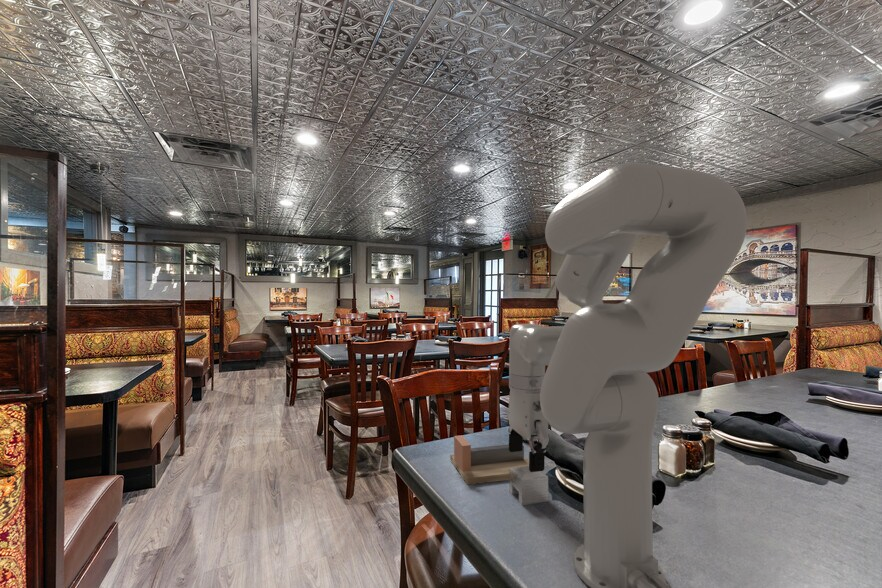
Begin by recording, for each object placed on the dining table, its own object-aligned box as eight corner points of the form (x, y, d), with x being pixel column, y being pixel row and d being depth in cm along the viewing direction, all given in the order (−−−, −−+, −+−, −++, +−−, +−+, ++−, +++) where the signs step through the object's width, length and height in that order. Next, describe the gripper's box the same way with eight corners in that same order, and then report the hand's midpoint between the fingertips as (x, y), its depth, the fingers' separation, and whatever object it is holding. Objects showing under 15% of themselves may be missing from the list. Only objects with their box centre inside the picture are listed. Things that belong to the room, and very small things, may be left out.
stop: (470, 470, 91) (470, 445, 91) (462, 471, 91) (462, 445, 91) (461, 459, 98) (461, 435, 98) (454, 460, 97) (454, 436, 98)
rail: (523, 460, 97) (523, 446, 97) (467, 466, 94) (467, 451, 94) (520, 457, 99) (520, 443, 99) (464, 463, 96) (464, 448, 96)
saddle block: (548, 501, 80) (548, 476, 80) (521, 505, 79) (521, 480, 79) (534, 487, 86) (534, 465, 86) (509, 491, 84) (509, 468, 85)
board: (539, 475, 92) (539, 469, 92) (467, 484, 87) (467, 478, 87) (513, 453, 105) (513, 448, 105) (450, 460, 101) (450, 454, 101)
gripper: (564, 391, 76) (563, 477, 76) (524, 372, 92) (523, 443, 93) (529, 393, 74) (528, 482, 74) (495, 373, 91) (494, 446, 91)
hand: (525, 460), depth 83 cm, fingers open, 9 cm apart
